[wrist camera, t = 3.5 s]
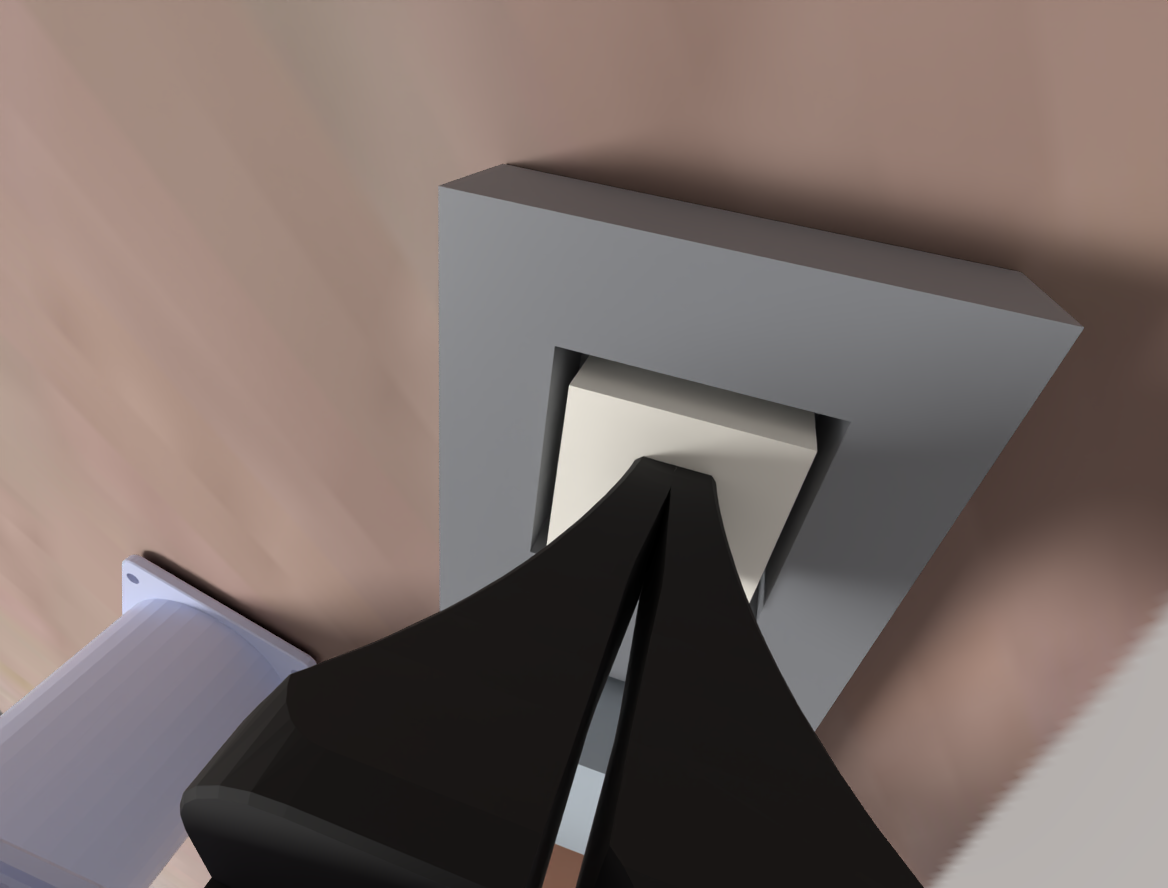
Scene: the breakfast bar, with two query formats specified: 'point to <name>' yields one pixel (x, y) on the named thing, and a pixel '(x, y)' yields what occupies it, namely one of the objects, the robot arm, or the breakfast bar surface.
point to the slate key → (591, 769)
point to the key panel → (730, 384)
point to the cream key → (685, 450)
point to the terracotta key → (563, 868)
